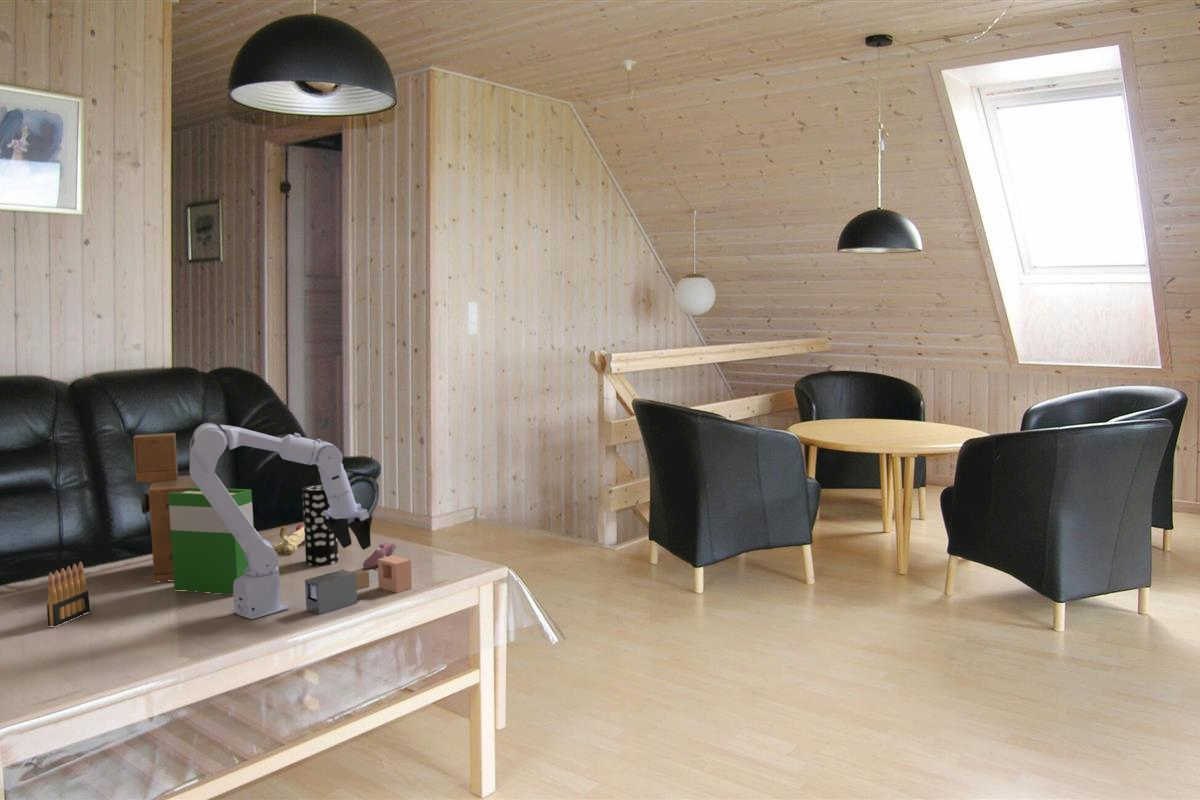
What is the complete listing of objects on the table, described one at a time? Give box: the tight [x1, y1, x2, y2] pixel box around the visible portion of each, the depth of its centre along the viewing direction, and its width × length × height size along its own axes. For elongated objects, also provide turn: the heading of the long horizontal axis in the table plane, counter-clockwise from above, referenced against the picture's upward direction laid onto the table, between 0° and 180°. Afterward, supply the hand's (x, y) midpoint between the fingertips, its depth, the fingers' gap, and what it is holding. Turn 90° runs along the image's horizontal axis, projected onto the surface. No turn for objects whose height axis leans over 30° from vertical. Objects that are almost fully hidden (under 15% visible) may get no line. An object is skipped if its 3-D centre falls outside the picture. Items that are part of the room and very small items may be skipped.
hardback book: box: [168, 487, 254, 595], centre depth 236 cm, size 18×7×24 cm, turn 75°
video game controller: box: [362, 541, 397, 570], centre depth 256 cm, size 10×5×7 cm, turn 169°
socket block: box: [377, 554, 412, 594], centre depth 235 cm, size 4×7×7 cm, turn 50°
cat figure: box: [273, 522, 305, 556], centre depth 280 cm, size 10×9×25 cm
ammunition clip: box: [46, 561, 91, 627], centre depth 215 cm, size 11×2×12 cm, turn 168°
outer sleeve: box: [304, 569, 358, 615], centre depth 221 cm, size 10×5×7 cm, turn 140°
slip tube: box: [310, 568, 378, 599], centre depth 224 cm, size 17×4×4 cm, turn 140°
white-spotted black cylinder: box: [301, 484, 339, 567], centre depth 259 cm, size 8×8×20 cm
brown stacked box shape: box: [133, 432, 198, 583], centre depth 252 cm, size 19×14×35 cm
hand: (356, 546), depth 228 cm, fingers open, 7 cm apart
